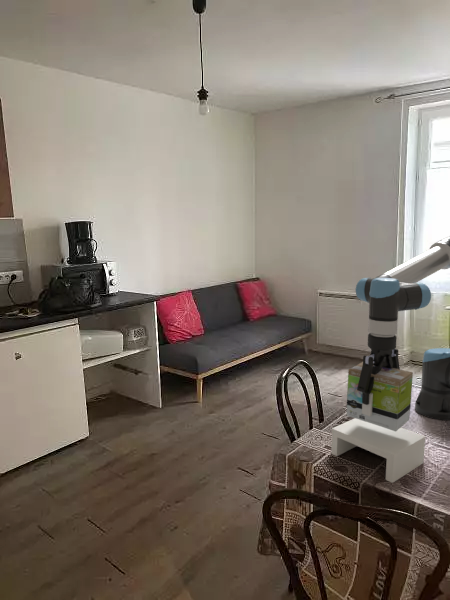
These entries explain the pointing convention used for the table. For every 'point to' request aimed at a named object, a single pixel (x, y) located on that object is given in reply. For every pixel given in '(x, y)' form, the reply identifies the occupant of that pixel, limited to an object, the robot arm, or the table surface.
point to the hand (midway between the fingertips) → (378, 409)
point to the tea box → (382, 397)
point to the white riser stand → (381, 445)
